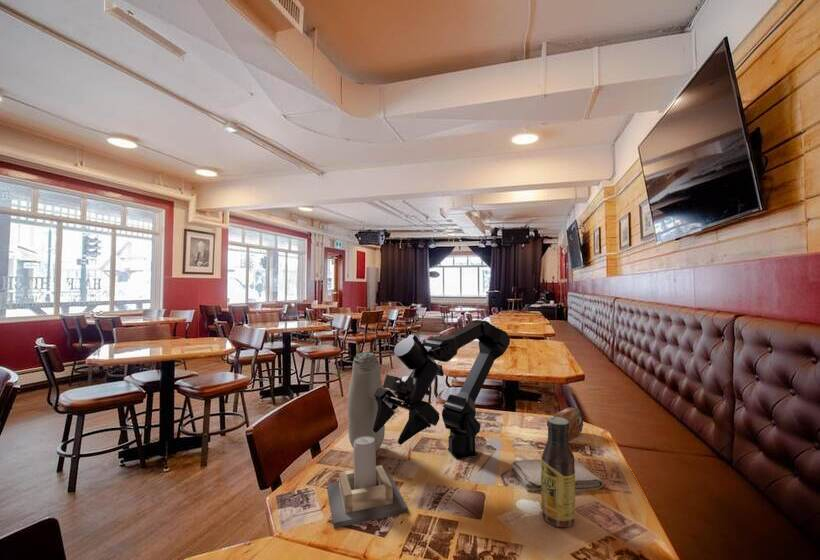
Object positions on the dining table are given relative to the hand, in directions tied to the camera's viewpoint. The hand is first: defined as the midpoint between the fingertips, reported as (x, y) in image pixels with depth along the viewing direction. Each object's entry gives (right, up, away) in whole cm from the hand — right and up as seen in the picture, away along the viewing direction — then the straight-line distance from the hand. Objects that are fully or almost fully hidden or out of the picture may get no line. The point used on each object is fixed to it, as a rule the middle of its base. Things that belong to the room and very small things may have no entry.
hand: (386, 437), depth 86 cm
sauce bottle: (+35, -11, -12) cm, 39 cm away
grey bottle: (-7, -12, +20) cm, 24 cm away
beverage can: (-4, -11, -4) cm, 13 cm away
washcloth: (+40, -12, +4) cm, 42 cm away
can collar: (-4, -12, -4) cm, 13 cm away
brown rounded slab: (+53, -12, +27) cm, 60 cm away
